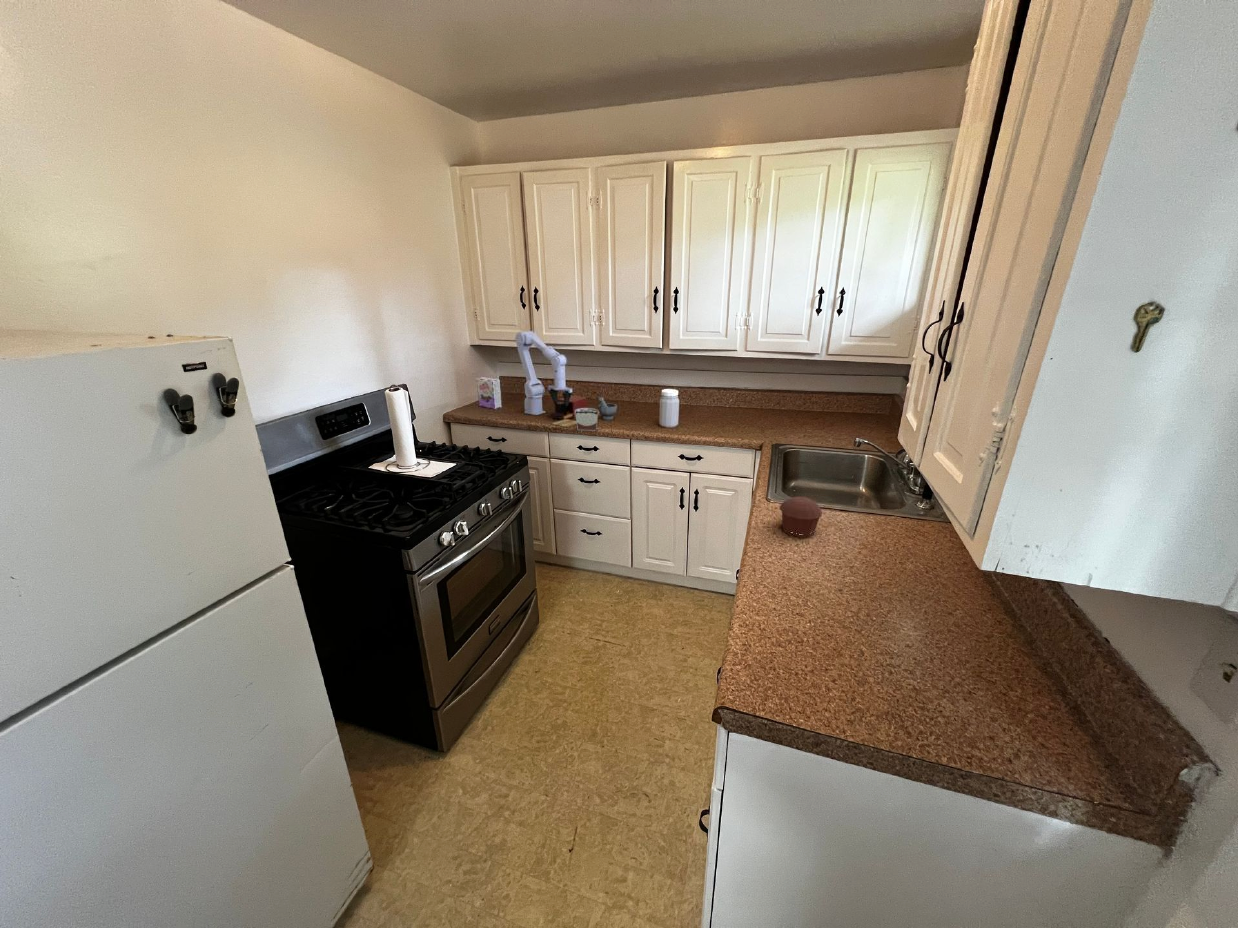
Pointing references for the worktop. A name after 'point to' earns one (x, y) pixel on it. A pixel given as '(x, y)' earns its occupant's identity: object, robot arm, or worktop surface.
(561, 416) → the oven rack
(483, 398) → the candy box
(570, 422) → the trivet
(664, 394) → the jar
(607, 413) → the mortar and pestle
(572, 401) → the dark red block
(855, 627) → the worktop surface
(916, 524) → the worktop surface
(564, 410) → the black weight
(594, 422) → the food container
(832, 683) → the worktop surface
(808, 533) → the muffin
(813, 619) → the worktop surface
